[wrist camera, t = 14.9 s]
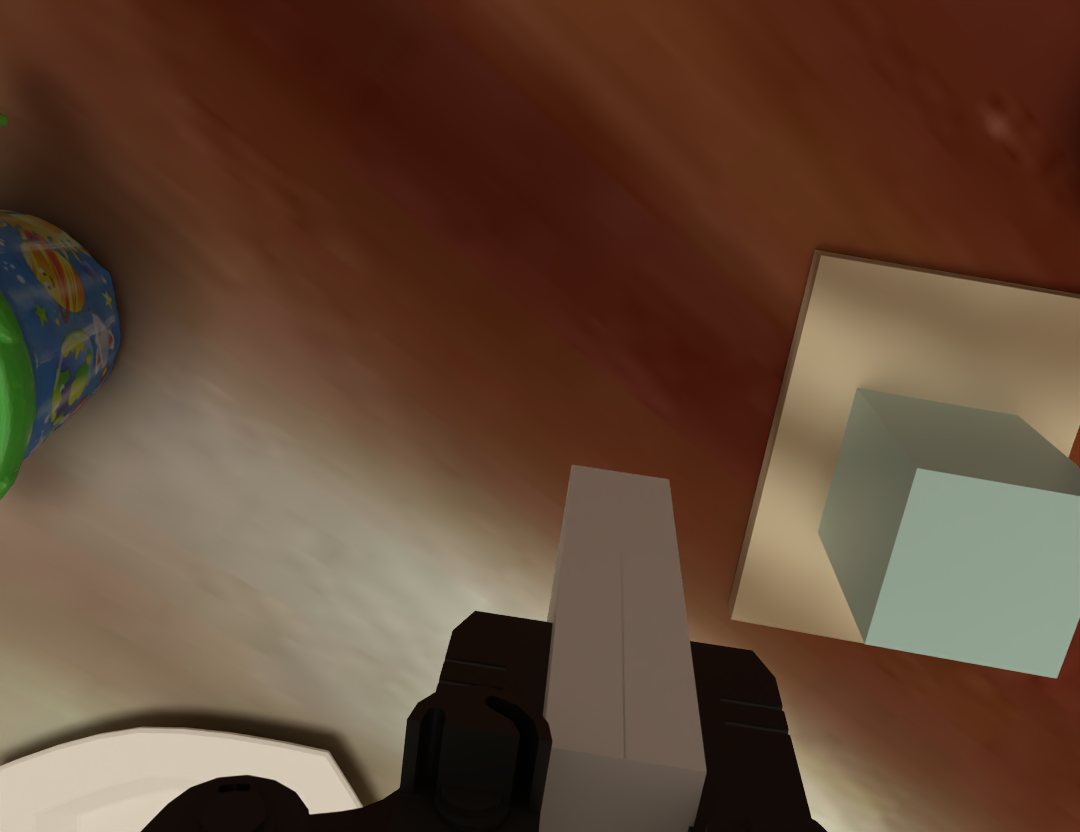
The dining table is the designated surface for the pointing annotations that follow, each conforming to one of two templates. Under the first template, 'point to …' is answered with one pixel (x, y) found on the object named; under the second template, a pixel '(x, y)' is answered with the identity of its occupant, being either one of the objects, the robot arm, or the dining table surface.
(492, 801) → the robot arm
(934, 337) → the stand
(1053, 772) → the dining table surface
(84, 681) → the dining table surface
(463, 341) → the dining table surface
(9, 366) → the snack cup
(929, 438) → the grey-green block
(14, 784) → the plate
